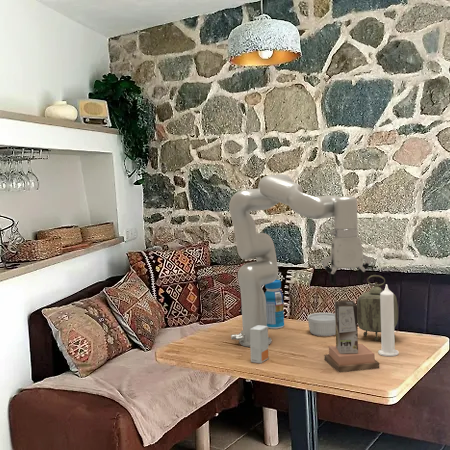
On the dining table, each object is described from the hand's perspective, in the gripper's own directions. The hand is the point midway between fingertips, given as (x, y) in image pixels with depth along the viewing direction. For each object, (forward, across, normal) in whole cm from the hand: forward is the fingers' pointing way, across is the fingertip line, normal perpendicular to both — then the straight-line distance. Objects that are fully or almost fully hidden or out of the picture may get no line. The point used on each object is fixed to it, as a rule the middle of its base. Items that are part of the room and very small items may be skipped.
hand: (346, 284), depth 201 cm
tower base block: (+28, +1, -1) cm, 29 cm away
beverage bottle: (+28, -10, +56) cm, 64 cm away
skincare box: (+28, -28, +13) cm, 42 cm away
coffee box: (+23, -1, -1) cm, 23 cm away
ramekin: (+28, +6, +39) cm, 49 cm away
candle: (+28, +17, +5) cm, 33 cm away
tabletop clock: (+28, +22, +23) cm, 42 cm away
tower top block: (+26, +1, -1) cm, 26 cm away
